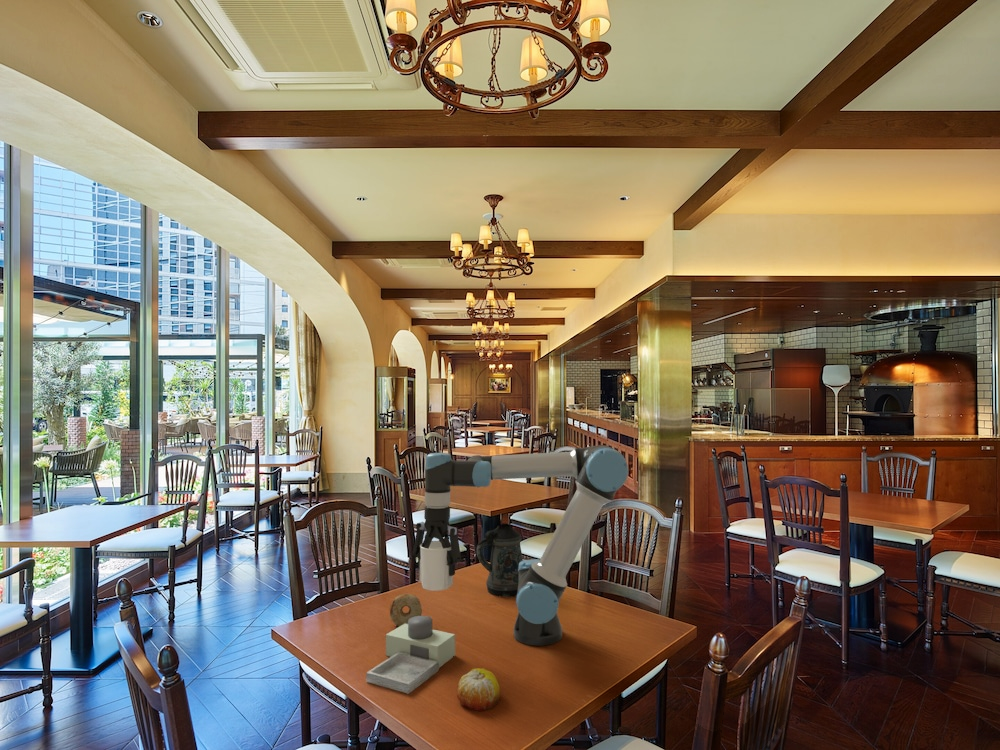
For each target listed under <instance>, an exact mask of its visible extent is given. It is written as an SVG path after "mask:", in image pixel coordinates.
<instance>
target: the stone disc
mask: <svg viewBox="0 0 1000 750" xmlns="http://www.w3.org/2000/svg"><path fill="white" fill-rule="evenodd" d="M404 607H407V608H408V611H407V612H404V610H403V608H404ZM422 609H423V607H422V604H421V601H420V600H419V598H418V597H417V595H414V594H411V593H402V594H400V595H397V596H395V597H394V598H393V599H392V601H391V603H390V608H389V616H390V620H391V622H393V623H394V625H396V626H398V627H400V626H401V625H403V624H408V620H409V619H410V618H412V617H415V616H422V613H423V610H422Z"/></svg>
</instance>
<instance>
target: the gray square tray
mask: <svg viewBox="0 0 1000 750" xmlns="http://www.w3.org/2000/svg"><path fill="white" fill-rule="evenodd" d="M439 669H440V667H439V662H438V661H434V660H430V659H426V658H422V657H418V656H414V655H410V654H406V653H402V652H398V653H396V654H394V655H393V656H391V657H388V658H386V659H385V660H384V661H382V662H381V663H379V664H377V665H376V666H374V667H373V668H371V669H370V670H368V671H367V672H366V673H365V674H366V679H365V680H366V683H369V684H373V685H376V686H380V687H382V688H387V689H390V690H394V691H396V692H399V693H400V692H401V693H404V694H406V695H408V694H410V693H412V692H413V691H414V690H416V689H417V688H418V687H419V686H420V685H422V684H424V683H425V682H426V681H427V680H428V679H430V678H431V677H432V676H434V675H435V674H436V673H438V672H439V671H440V670H439Z"/></svg>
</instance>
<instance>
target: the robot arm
mask: <svg viewBox="0 0 1000 750" xmlns="http://www.w3.org/2000/svg"><path fill="white" fill-rule="evenodd" d="M628 466H629V465H628V462H627V460H626V459H625V457H624V455H623V454H622V453H621V452H619V451H618V450H617V449H614V448H613V447H611V446H609V445H606V444H605V445H604V444H598V445H593V446H586V447H578V448H577V447H576V448H575V447H574V448H573V449H572V450H571V451H561V452H560V451H559V452H545V453H544V452H543V453H542V452H540V453H522V454H519V453H518V454H503V455H501V454H499V455H498V454H497V455H472V456H470V457H469V458H468V459H467V460H453V459H452V455H451V454H450V453H448V452H430V453H429V454H427V455H426V457H425V467H424V475H425V476H424V477H425V478H424V486H425V487H424V505H425V507H424V516H423V517H424V520H425V521H421V522H418V523H416V526H415V527H416V533H415V537H414V544H413V548H412V555H413V556H415V557H416V558H417V568H418V569H417V570H419V581H418V582H419V583H422V581H421V554H420V545H421V544H422V543H423V544H422V547H423V548H427V549H428V548H429V546H430V544H431V541H433V539H436V540H437V539H438V541H439V542H441V544H442V547H443V549H445V548H449V547H451V550H450V551H448V550H447V562H448V564H446V572H445V588H447V589H449V588H450V587H452V586H454V576H455V575H456V564H458V563H461V562H462V554H461V549H460V543H459V535H458V534H459V527H457V526H456V527H454V526H451V525H450V518H451V507H450V504H451V487H469V488H470V487H473V488H481V487H484V488H485V487H490V486H491V482H492V480H510V479H512V480H513V479H514V480H515V479H535V478H558V477H560V478H561V477H573V478H574V479H575V484H576V490H575V492H574V494H573V496H572V498H571V500H570V502H569V504H568V506H567V508H566V509H565V512H564V513H563V515H562V517H561V519H560V521H559V523H558V525H557V526H556V529H555V530H554V532H553V534H552V537H551V538H550V540H549V542H548V544H547V545H546V547H545V549H544V552H543V553H542V554H541V555H542V556H540V559H539V558H537V559H536V558H535V559H532V558H531V559H525V560H524V559H523V561H521V562H520V563H519V569H518V571H519V583H518V592H517V596H515V598H516V599H515V604H516V607H517V608H516V609H517V610H518V611H517V612H518V613H517V615H516V619H515V623H514V625H513V637H514V639H515V640H516V641H517V642H519V643H522V644H525V645H529V646H541V647H542V646H549V645H553V644H556V643H558V642H559V641H561V639H562V638H563V627H562V623H561V622H560V618H559V615H558V609H559V602H560V600H561V597H562V596H563V594H564V592H565V590H566V588H567V586H568V583H567V579H566V577H567V576H568V575H567V574H568V573H569V571H570V570H571V569H570V568H571V567H572V565H573V563H574V562H575V560H576V558H577V555H578V554H579V551H580V550H581V548H582V546H583V544H584V542H585V541H586V539H587V537H588V534H589V533H590V530H591V529H592V527H593V525H594V522H596V519H597V518H598V516H599V514H600V512H601V510H602V508H603V506H604V504H606V503H611V502H612V501H613V499H614V496H615V495H616V493H617V491H618V490H619V489H621V487H623V485H624V484H625V483H626V481H627V478H628V475H629V468H628ZM448 587H449V588H448Z"/></svg>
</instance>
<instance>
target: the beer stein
mask: <svg viewBox="0 0 1000 750" xmlns="http://www.w3.org/2000/svg"><path fill="white" fill-rule="evenodd" d="M521 541H522V535H521V534H520V532H518V531H516V529H514V528H513V527H512V526H511V524H510V523H509V524H508V523H501V524H497V527H496V528H494V529H491V530H488V531H486V532H485V535H484V538H482V539H480V540H479V541H478V542H477V546H476V557H477V560H478V561H479V562H480V564H481V565H482V567H484V569H486V571H488V576H487V579H486V583H485V584H486V589H487V593H489V594H490V595H492V596H495V597H499V596H501V598H515V597H517V592H518V583H519V571H518V569H519V563H520V562H521V561H523V560H524V559H523V553H522V548H521ZM486 546H489V547H490V546H491V552H490V553H491V554H490V561H488V560H487V558H485V555H484V553H483V552H484V551H483V550H484V548H485V547H486ZM489 562H490V563H489ZM514 596H515V597H514Z"/></svg>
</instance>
